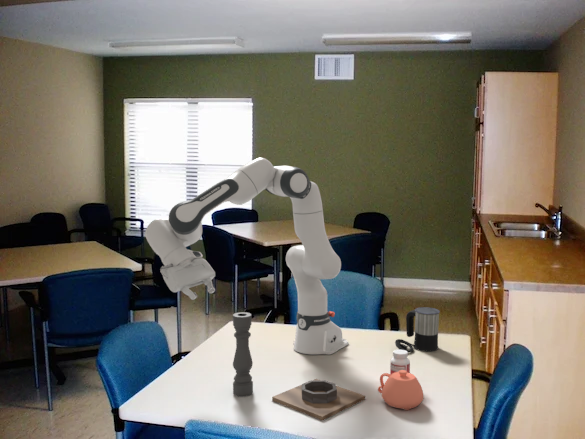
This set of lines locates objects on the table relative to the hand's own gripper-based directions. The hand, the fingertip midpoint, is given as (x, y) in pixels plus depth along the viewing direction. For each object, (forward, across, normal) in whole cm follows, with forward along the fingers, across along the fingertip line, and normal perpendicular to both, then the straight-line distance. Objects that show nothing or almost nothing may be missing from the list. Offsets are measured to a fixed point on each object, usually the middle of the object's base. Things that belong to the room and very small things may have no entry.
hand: (204, 295), depth 198 cm
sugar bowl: (+63, +16, -22) cm, 69 cm away
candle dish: (+48, +6, -6) cm, 48 cm away
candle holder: (+31, 0, +11) cm, 33 cm away
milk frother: (+56, +66, -14) cm, 88 cm away
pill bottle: (+60, +30, -19) cm, 69 cm away
